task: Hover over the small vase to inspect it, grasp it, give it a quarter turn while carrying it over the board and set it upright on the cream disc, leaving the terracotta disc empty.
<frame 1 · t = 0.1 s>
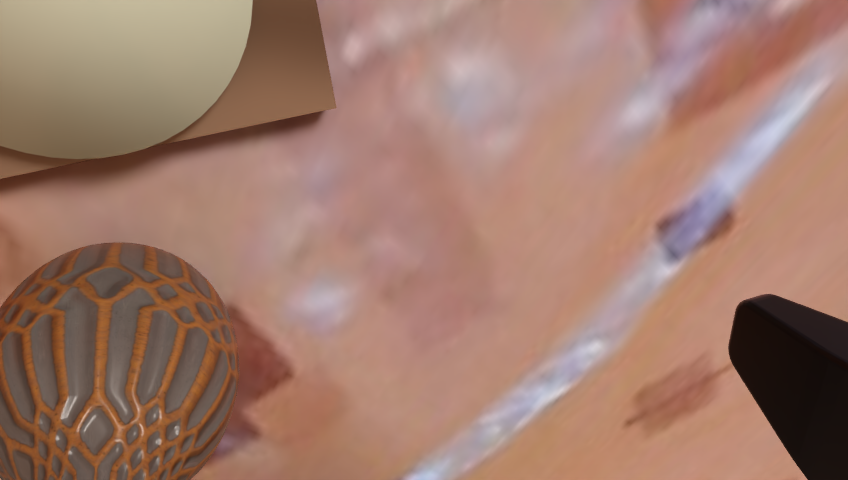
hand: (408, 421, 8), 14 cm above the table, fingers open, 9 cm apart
vase: (126, 295, 23), on the table
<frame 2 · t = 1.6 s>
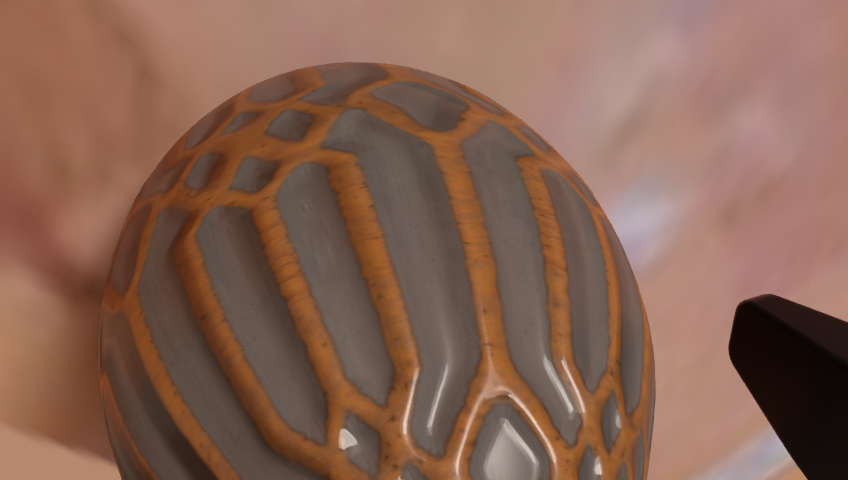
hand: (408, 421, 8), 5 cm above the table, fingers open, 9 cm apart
vase: (328, 198, 13), on the table
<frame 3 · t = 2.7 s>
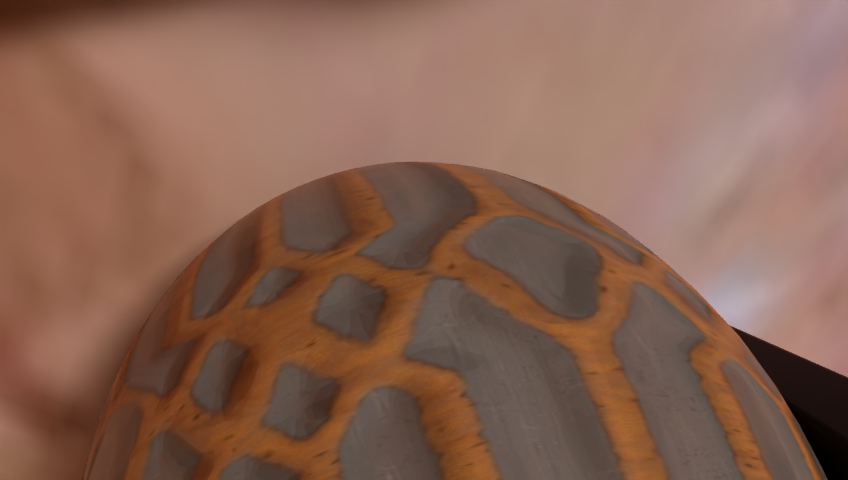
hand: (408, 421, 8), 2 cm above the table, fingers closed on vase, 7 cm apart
vase: (366, 301, 10), on the table, touching gripper
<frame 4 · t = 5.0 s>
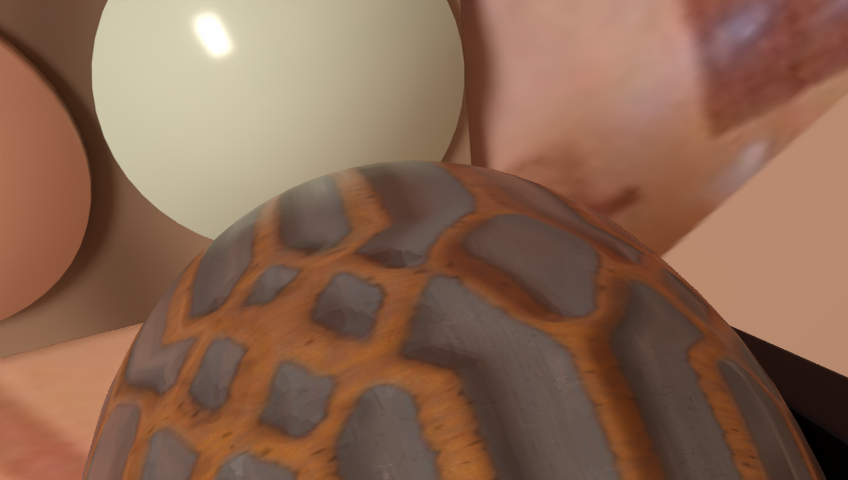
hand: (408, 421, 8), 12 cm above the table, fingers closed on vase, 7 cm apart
board: (98, 113, 17), on the table
vase: (366, 299, 10), point 10 cm above the table, touching gripper
cream disc: (289, 90, 17), resting on board
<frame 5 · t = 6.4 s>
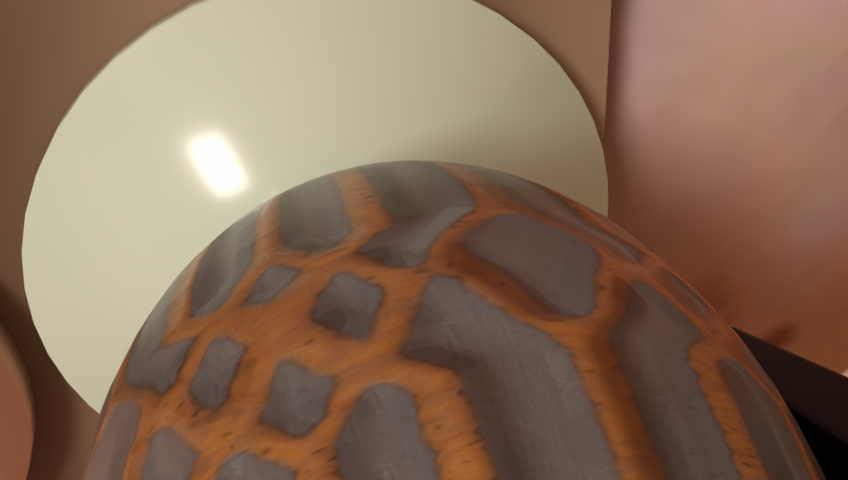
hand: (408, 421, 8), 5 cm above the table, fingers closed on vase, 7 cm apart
board: (44, 294, 11), on the table
vase: (366, 299, 10), point 2 cm above the table, touching gripper
cream disc: (342, 256, 11), resting on board
when the fingers open (5 cm above the table, at t = 7.3 s): vase stays where it is, resting on cream disc.
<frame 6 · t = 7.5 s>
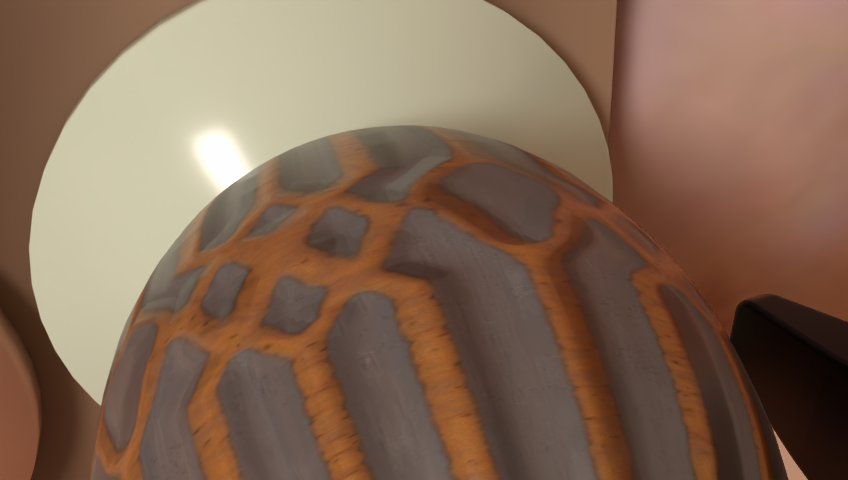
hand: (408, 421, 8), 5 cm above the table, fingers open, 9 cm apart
board: (51, 291, 11), on the table
vase: (359, 264, 11), point 1 cm above the table, touching cream disc
cream disc: (347, 253, 11), resting on board
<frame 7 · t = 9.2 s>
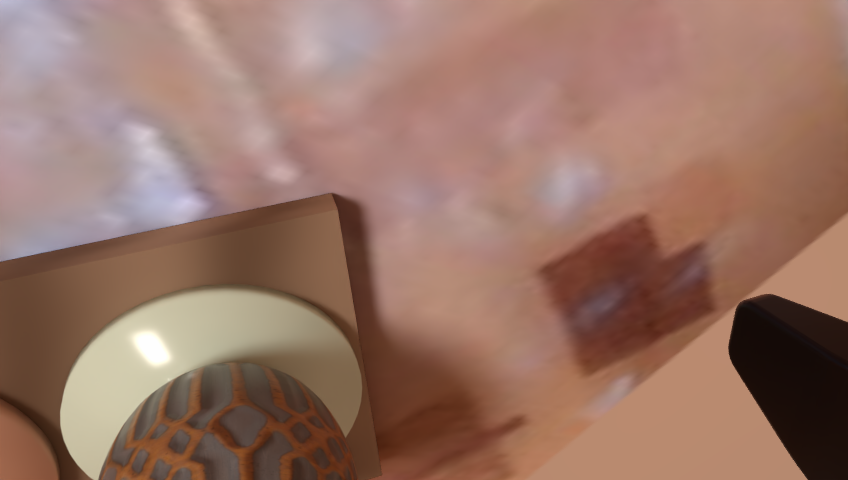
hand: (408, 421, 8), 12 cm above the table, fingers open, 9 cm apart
board: (66, 416, 22), on the table
vase: (224, 406, 22), point 1 cm above the table, touching cream disc
cream disc: (220, 399, 22), resting on board
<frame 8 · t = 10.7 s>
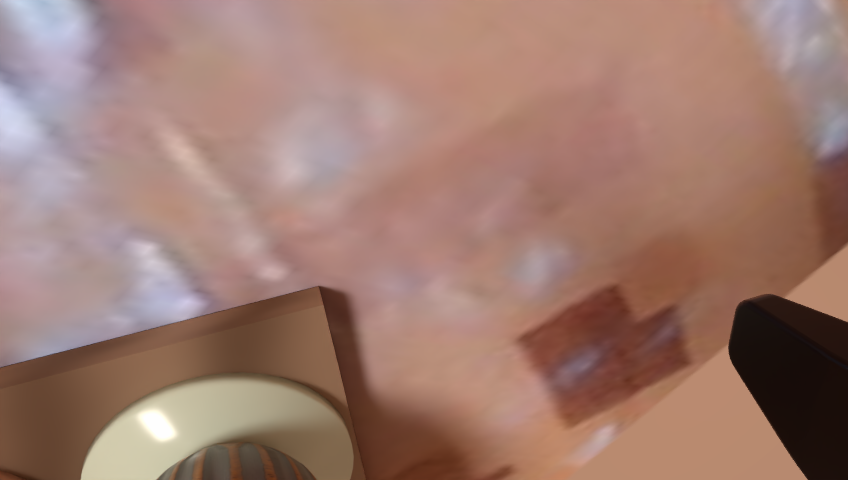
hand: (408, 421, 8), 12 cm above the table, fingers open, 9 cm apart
vase: (227, 477, 24), point 1 cm above the table, touching cream disc
cream disc: (223, 469, 24), resting on board
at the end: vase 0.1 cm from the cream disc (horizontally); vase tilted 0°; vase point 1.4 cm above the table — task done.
